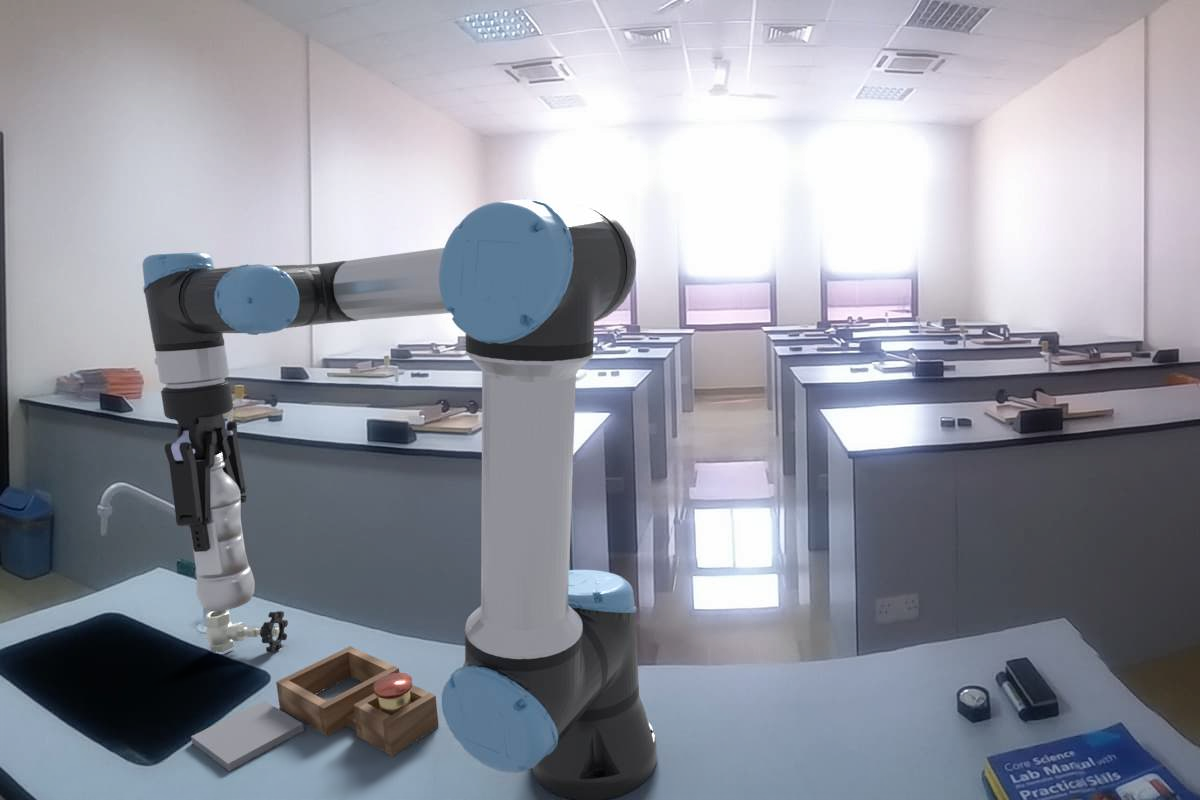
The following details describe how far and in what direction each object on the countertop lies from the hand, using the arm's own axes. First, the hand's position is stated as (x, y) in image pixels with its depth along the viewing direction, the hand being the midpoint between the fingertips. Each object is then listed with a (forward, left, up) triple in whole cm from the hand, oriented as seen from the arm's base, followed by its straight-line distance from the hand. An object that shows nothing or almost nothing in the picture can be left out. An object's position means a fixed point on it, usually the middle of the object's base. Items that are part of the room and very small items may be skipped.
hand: (222, 563), depth 97 cm
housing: (-8, -12, -24) cm, 28 cm away
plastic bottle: (0, 0, -6) cm, 6 cm away
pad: (0, 0, -24) cm, 24 cm away
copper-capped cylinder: (-16, -12, -24) cm, 31 cm away
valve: (+24, -12, -25) cm, 37 cm away
